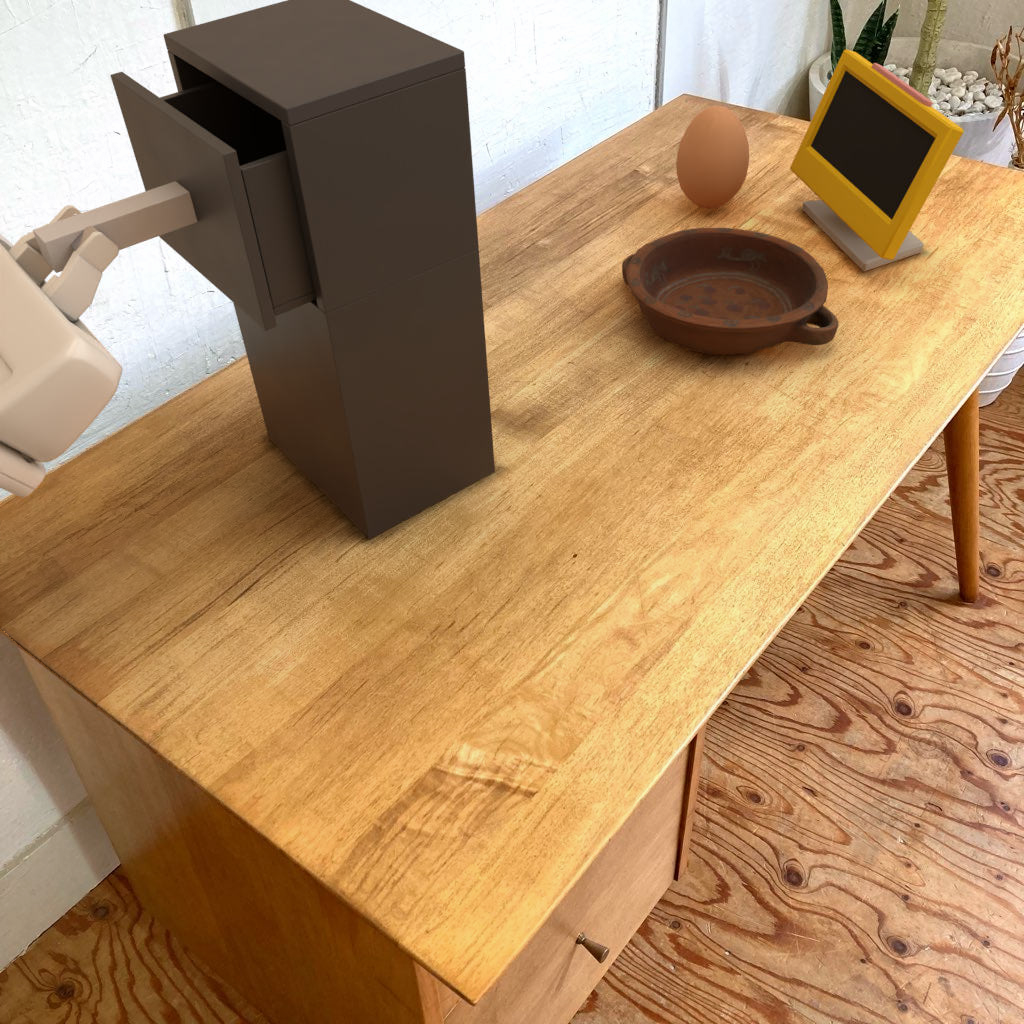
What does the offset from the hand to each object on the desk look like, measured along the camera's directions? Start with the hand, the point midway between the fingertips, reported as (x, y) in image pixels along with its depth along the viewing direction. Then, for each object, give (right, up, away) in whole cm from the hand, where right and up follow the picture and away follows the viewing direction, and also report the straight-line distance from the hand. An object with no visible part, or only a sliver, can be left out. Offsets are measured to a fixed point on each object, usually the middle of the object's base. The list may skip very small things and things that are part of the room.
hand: (95, 225), depth 62 cm
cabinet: (+14, -12, +25) cm, 31 cm away
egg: (+46, +17, +53) cm, 73 cm away
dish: (+44, +1, +37) cm, 58 cm away
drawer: (+6, -1, +7) cm, 9 cm away
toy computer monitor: (+61, +12, +47) cm, 78 cm away
